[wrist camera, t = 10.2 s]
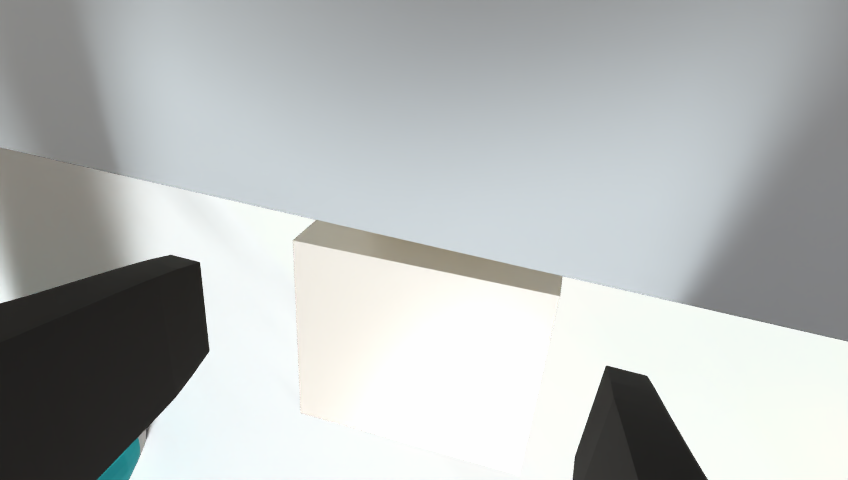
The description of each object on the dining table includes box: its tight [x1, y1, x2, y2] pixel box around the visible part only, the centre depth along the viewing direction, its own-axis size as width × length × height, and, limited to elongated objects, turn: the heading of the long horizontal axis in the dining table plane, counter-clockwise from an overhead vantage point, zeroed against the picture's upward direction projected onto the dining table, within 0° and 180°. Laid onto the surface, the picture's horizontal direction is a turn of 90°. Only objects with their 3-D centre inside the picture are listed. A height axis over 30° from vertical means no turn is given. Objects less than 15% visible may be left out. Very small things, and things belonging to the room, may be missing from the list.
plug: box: [293, 220, 562, 475], centre depth 10 cm, size 4×12×5 cm, turn 176°
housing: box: [0, 0, 848, 341], centre depth 8 cm, size 12×5×6 cm, turn 84°
